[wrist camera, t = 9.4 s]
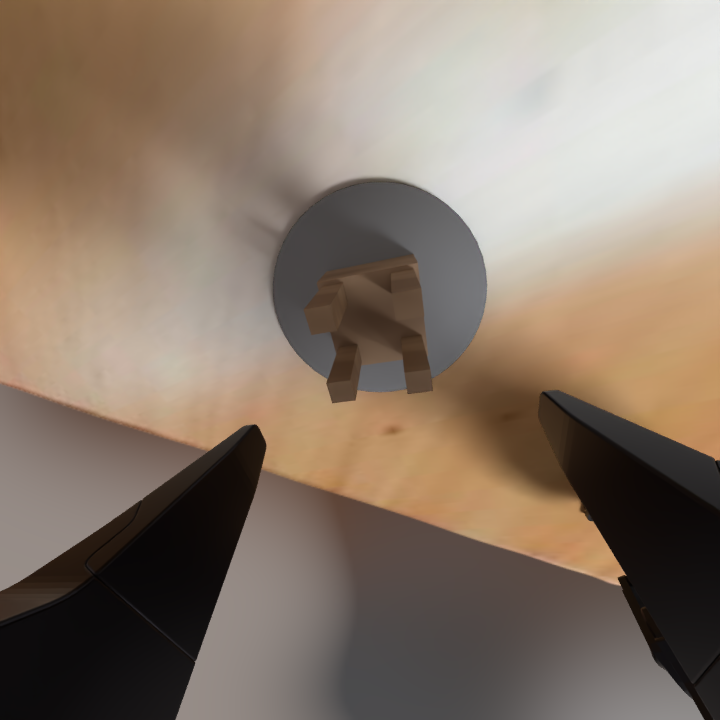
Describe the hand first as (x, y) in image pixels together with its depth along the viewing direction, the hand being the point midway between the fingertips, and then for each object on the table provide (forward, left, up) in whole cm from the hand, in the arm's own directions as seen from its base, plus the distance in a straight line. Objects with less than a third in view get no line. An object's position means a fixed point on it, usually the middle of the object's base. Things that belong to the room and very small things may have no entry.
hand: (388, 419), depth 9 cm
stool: (0, +1, -11) cm, 11 cm away
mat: (0, +1, -12) cm, 12 cm away
